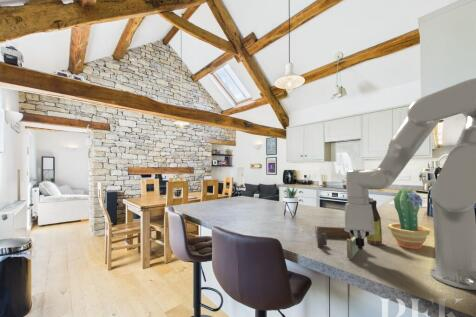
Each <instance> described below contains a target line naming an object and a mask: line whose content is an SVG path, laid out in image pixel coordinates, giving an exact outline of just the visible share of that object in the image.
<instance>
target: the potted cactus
mask: <svg viewBox="0 0 476 317" xmlns="http://www.w3.org/2000/svg"><path fill="white" fill-rule="evenodd" d="M393 203H394V209H395V210H396V212H397V216H398V220H399V223H398V222H394V223H389V224H388V225H387V227H388V228H387V229H388V230H390V232H391V235H392V237H393V238H394V239H395V240H396V241H397V242H396V245H398V246H399V247H402V248H407V249H411V250H415V249H416V250H419V249H423V245H424V243H425V242H426V240H427V237H428V235H430V232H431V228H429V227H426V226H422V225H418V224H419V222H418V221H419V219H418V213H419V211H420V207H421V208H422V207H423V198H422V197H421V196H420V195H419V194H417V192H414V191H413V190H412V189H409V188H406V189H399V191H397V193H396V194H395V196H394V197H393Z"/></svg>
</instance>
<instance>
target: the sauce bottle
mask: <svg viewBox="0 0 476 317" xmlns="http://www.w3.org/2000/svg"><path fill="white" fill-rule="evenodd" d="M369 204H371V206H372V210H373V217H374V230H375V234H372V235H368V236H367V237H366V242H367V243H368V244H370V245H373V246H374V245H375V246H380V245H382V244H383V234H382V230H383V229H382V220H381V216H380V213H379V210H378V208H377V204H378V202H377V200H376V199H373V202H370V203H369Z"/></svg>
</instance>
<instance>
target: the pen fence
mask: <svg viewBox="0 0 476 317" xmlns="http://www.w3.org/2000/svg"><path fill="white" fill-rule="evenodd" d="M344 229H345V227H340V226H339V227H338V226H320V225H318V226H317V225H316V226H314V230H315V231H314V232H315V239H316V242H317V248H319V249H323V246H325V247H326V246H327V244H328V242H327V238H333V239H334V238H336V239H352V238H353V237H354V236H353V235H352V234H351V233H350V232H346V231H345V230H344ZM357 233H358V235H359V237H360V236H361V233H362V231H359V230H357ZM362 250H363V249H360V250H359V251H362Z"/></svg>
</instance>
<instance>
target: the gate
mask: <svg viewBox="0 0 476 317" xmlns="http://www.w3.org/2000/svg"><path fill="white" fill-rule="evenodd" d="M359 251H361V250H360V249H358V246H356V238H355V237H353V238H352V239H349V238H346V255H347V256H346V257H347V259H350V260H352V259H353V258H354V256H355V255H357V253H358V252H359Z"/></svg>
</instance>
